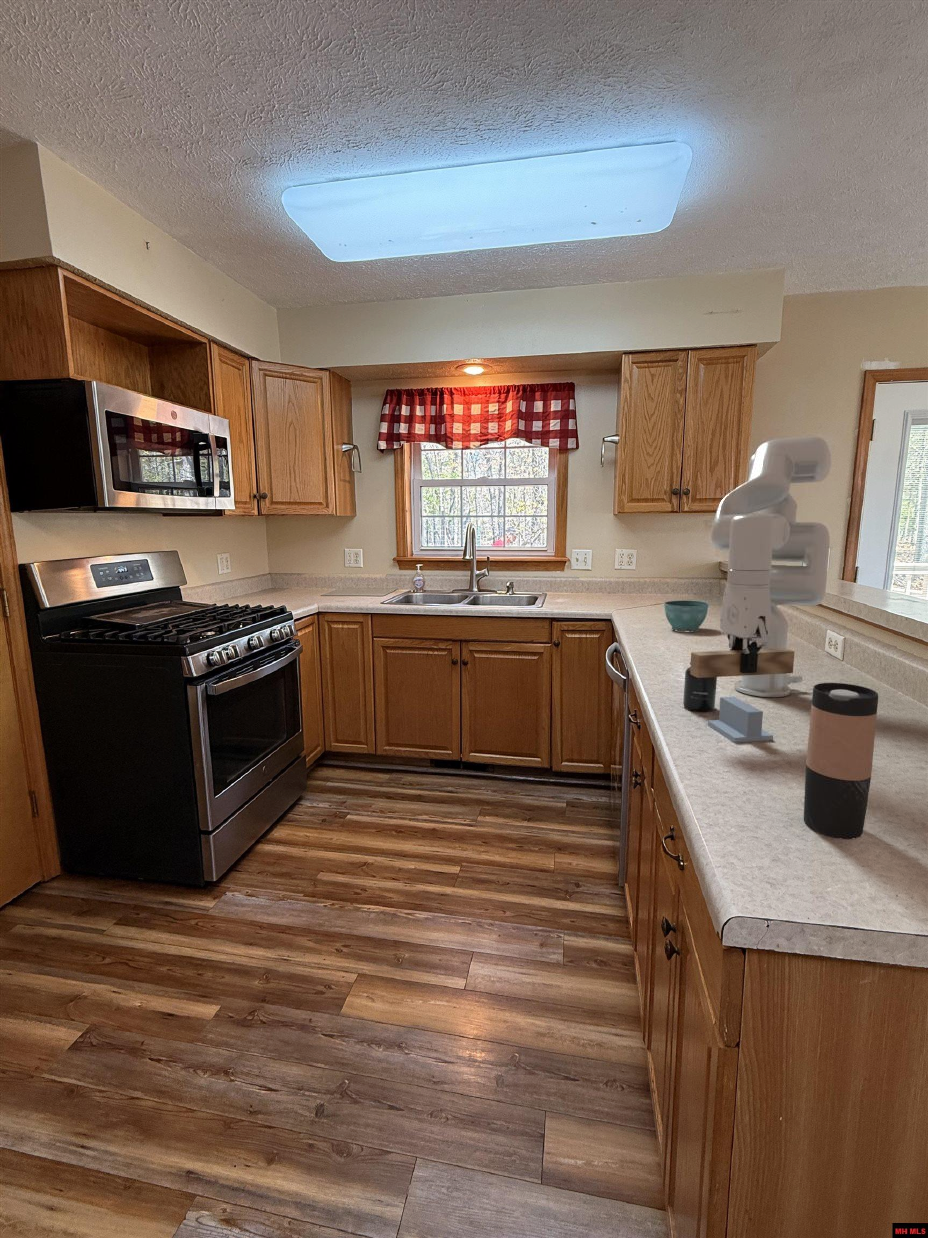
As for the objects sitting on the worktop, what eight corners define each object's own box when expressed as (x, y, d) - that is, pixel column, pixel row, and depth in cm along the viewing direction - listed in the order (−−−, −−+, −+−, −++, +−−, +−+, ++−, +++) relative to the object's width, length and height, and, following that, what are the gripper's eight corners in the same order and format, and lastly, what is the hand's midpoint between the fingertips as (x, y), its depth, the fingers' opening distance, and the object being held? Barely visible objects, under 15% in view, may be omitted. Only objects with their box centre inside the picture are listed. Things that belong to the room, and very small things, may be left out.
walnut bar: (783, 669, 118) (784, 648, 118) (792, 673, 115) (794, 651, 115) (690, 674, 116) (691, 652, 116) (697, 677, 113) (698, 655, 113)
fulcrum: (743, 723, 123) (744, 695, 122) (772, 740, 114) (774, 711, 113) (707, 725, 123) (709, 697, 122) (734, 742, 113) (736, 713, 112)
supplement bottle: (695, 714, 130) (698, 662, 128) (677, 705, 136) (679, 655, 134) (721, 710, 131) (724, 659, 129) (702, 702, 138) (704, 653, 136)
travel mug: (840, 811, 86) (853, 681, 82) (878, 839, 78) (894, 697, 75) (790, 813, 86) (800, 683, 82) (823, 841, 78) (836, 699, 75)
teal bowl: (663, 633, 220) (664, 605, 218) (662, 626, 235) (663, 599, 234) (709, 635, 216) (711, 606, 214) (705, 627, 231) (706, 600, 229)
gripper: (708, 575, 120) (703, 661, 123) (755, 583, 104) (749, 682, 107) (742, 574, 121) (736, 660, 124) (794, 582, 105) (787, 680, 108)
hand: (742, 669), depth 116 cm, fingers closed on walnut bar, 3 cm apart
